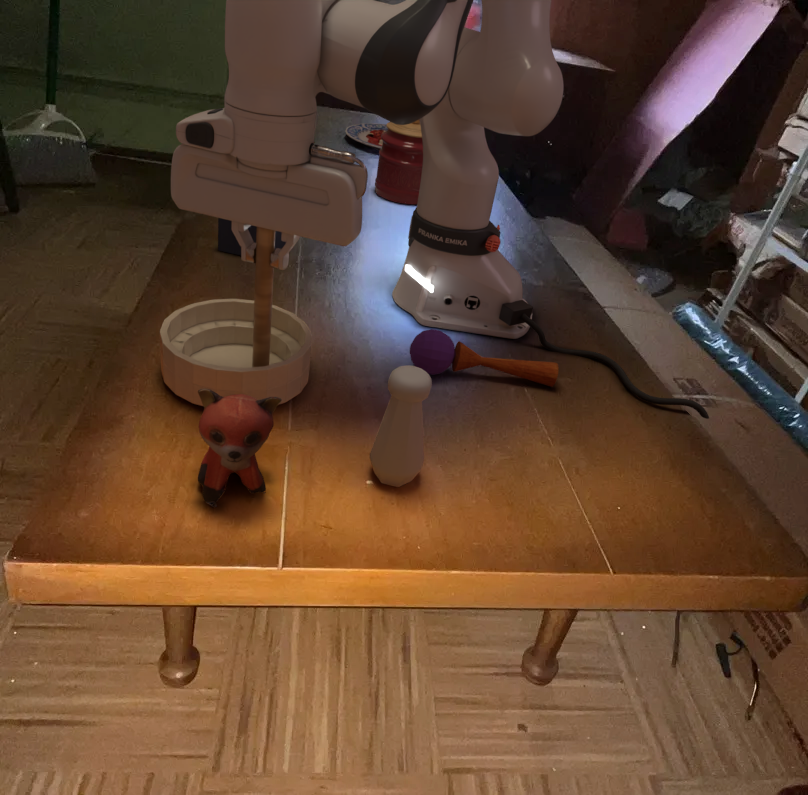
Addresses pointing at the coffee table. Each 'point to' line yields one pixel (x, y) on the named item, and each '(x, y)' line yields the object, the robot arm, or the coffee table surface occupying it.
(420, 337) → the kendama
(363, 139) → the ceramic plate
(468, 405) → the coffee table surface
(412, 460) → the salt shaker
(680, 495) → the coffee table surface
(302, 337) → the bowl
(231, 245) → the stand
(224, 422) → the stuffed fox
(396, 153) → the kitchen canister
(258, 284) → the stick
